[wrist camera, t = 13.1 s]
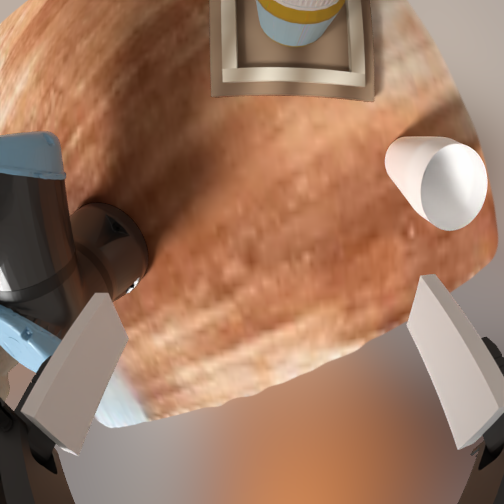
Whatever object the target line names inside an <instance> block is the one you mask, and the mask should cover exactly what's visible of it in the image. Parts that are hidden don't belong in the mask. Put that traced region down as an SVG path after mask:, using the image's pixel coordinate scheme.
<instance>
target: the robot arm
mask: <svg viewBox="0 0 504 504" xmlns="http://www.w3.org/2000/svg"><path fill="white" fill-rule="evenodd" d="M65 179H66V173H65V172H64V170H63V162H62V154H61V145H60V142H59V139H58V138H57V136H56V135H54V134H53V133H51V132H48V131H36V132H25V133H16V134H7V135H0V345H1V347H2V348H3V349H4V350H5V351H6V352H7V353H9V354H10V355H11V356H12V357H13V358H14V359H16V360H17V361H18V362H20V363H21V364H22V365H24V366H25V367H27V368H28V369H30V370H32V371H34V372H36V375H35V376H34V377H33V379H32V383H30V384H29V386H28V388H27V389H26V391H25V393H24V395H23V397H22V398H21V400H20V402H19V404H18V406H17V407H16V409H15V411H13V410H12V409H11V408H10V407H9V406H8V405H7V404H6V403H5V402H4V401H3V400H2V398H1V397H0V504H75V502H74V500H73V497H72V495H71V492H70V489H69V486H68V484H67V481H66V478H65V475H64V472H63V469H62V466H61V462H60V459H59V455H58V453H57V451H56V449H55V448H54V446H55V444H57V445H58V446H59V447H60V448H62V449H63V450H64V451H67V452H69V453H72V454H74V455H77V456H79V454H80V451H81V449H82V446H83V443H84V441H85V438H86V435H87V433H88V430H89V428H90V425H91V423H92V420H93V418H94V415H95V413H96V410H97V408H98V406H99V403H100V401H101V399H102V396H103V394H104V392H105V389H106V387H107V385H108V382H109V380H110V378H111V376H112V373H113V371H114V369H115V367H116V365H117V362H118V360H119V358H120V356H121V354H122V352H123V350H124V348H125V345H126V343H127V341H128V339H129V338H128V336H127V334H126V331H125V329H124V327H123V325H122V323H121V321H120V319H119V316H118V314H117V312H116V310H115V307H114V305H113V303H112V302H114V301H116V300H117V299H119V298H121V297H122V296H124V295H125V294H127V293H129V292H130V291H132V290H133V289H134V288H135V287H136V286H137V285H138V284H139V282H140V281H141V279H142V278H143V276H144V274H145V272H146V270H147V266H148V250H147V246H146V242H145V240H144V237H143V235H142V233H141V231H140V230H139V228H138V227H137V225H136V224H135V223H134V222H133V220H132V219H131V218H130V217H129V216H128V215H126V214H125V213H124V212H123V211H121V210H120V209H118V208H116V207H114V206H112V205H109V204H105V203H90V204H87V205H85V206H83V207H81V208H80V209H78V210H77V211H75V212H74V213H73V214H72V215H71V216H69V210H68V203H67V195H66V187H65ZM407 327H408V329H409V331H410V333H411V336H412V338H413V340H414V342H415V344H416V346H417V348H418V350H419V352H420V355H421V357H422V359H423V361H424V363H425V366H426V368H427V370H428V372H429V375H430V377H431V379H432V382H433V384H434V387H435V389H436V391H437V394H438V396H439V399H440V401H441V404H442V407H443V409H444V412H445V414H446V417H447V420H448V423H449V426H450V428H451V431H452V434H453V437H454V440H455V443H456V446H457V449H458V450H459V449H461V448H464V447H466V446H468V445H470V444H473V443H474V442H475V441H476V440H477V439H479V438H480V437H481V436H482V435H483V437H484V441H483V442H482V443H480V444H479V445H478V446H477V447H476V448H475V449H474V450H473V451H472V453H471V455H474V454H475V453H476V452H477V451H479V452H478V454H477V455H476V457H477V458H476V461H475V464H474V466H473V469H472V472H471V474H470V477H469V479H468V482H467V484H466V486H465V489H464V491H463V493H462V496H461V498H460V500H459V502H458V504H504V357H502V354H501V352H500V351H499V349H498V348H497V346H496V345H495V344H494V343H493V342H492V341H491V340H490V339H488V338H487V337H484V338H480V336H479V335H478V333H477V331H476V330H475V328H474V327H473V325H472V324H471V322H470V321H469V319H468V318H467V317H466V315H465V314H464V312H463V311H462V309H461V308H460V307H459V305H458V304H457V302H456V301H455V300H454V298H453V297H452V296H451V294H450V293H449V292H448V290H447V289H446V288H445V286H444V285H443V284H442V282H441V281H440V280H439V279H438V277H437V276H436V275H435V274H431V275H422V276H420V279H419V283H418V287H417V291H416V295H415V299H414V302H413V306H412V309H411V313H410V316H409V319H408V323H407Z"/></svg>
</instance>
